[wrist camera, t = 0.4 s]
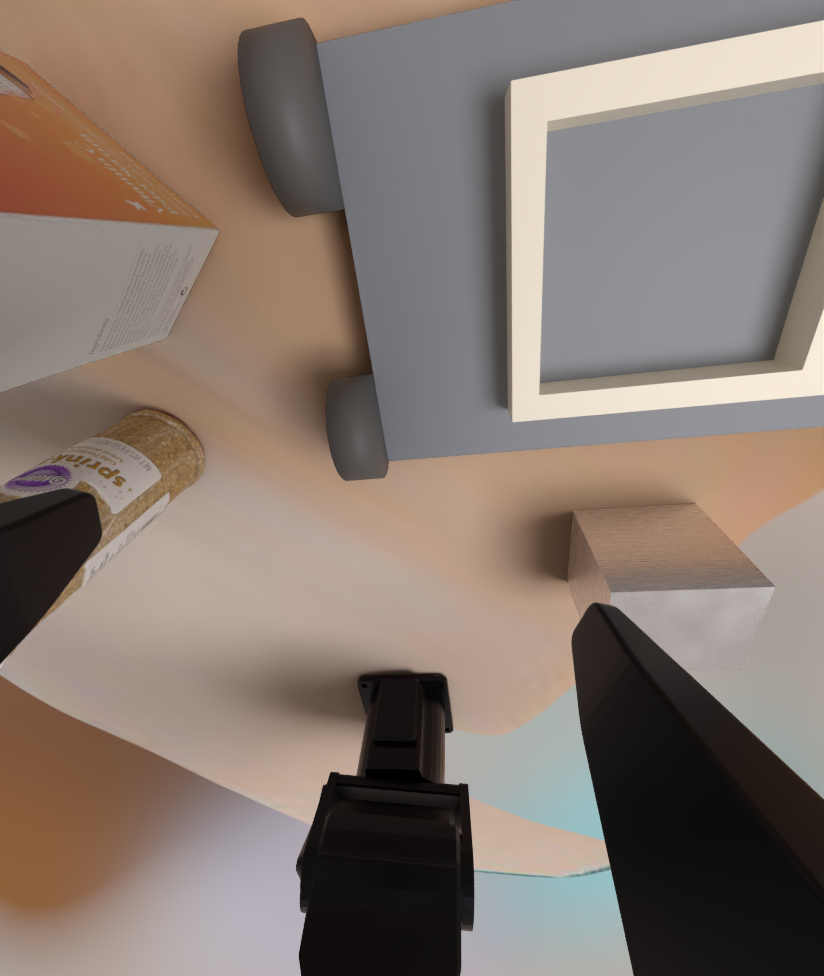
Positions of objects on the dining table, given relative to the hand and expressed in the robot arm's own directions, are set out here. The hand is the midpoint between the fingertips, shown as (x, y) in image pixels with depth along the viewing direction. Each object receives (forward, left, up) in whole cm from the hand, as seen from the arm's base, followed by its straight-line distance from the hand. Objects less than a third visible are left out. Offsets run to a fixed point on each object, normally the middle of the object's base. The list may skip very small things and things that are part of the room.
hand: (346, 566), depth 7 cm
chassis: (+3, -10, -13) cm, 17 cm away
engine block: (-11, -11, -13) cm, 20 cm away
